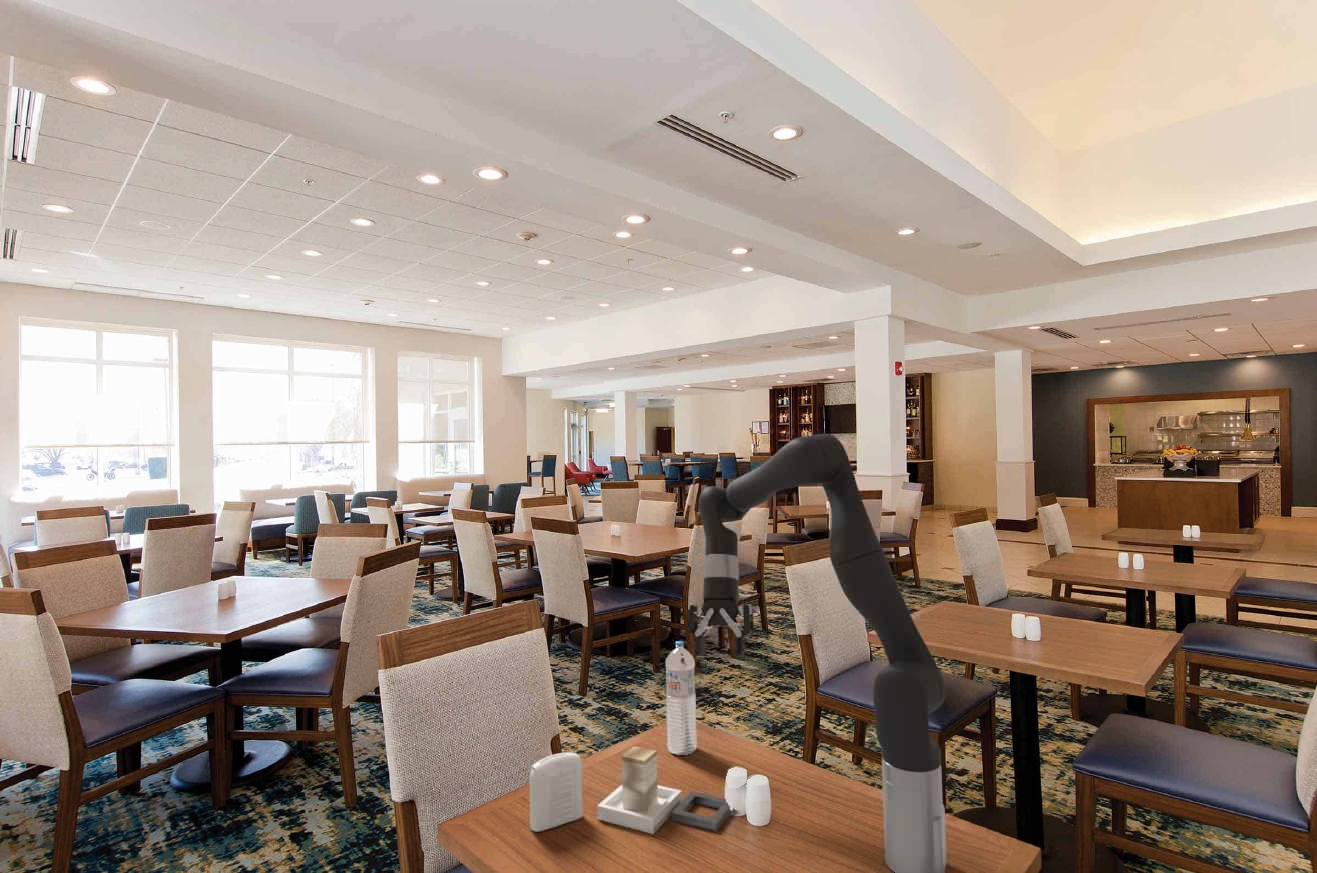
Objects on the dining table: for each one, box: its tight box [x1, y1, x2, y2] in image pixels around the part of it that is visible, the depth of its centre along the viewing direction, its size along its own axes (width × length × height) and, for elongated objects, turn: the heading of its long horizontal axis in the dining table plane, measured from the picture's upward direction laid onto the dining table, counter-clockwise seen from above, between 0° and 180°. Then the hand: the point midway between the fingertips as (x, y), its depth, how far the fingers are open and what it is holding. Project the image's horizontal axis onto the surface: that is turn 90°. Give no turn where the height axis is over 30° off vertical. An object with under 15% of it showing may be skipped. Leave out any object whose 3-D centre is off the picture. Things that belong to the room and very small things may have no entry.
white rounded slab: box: [529, 751, 584, 833], centre depth 128 cm, size 10×4×12 cm, turn 123°
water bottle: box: [664, 640, 698, 756], centre depth 158 cm, size 7×7×25 cm
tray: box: [596, 784, 683, 835], centre depth 131 cm, size 12×12×2 cm
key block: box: [621, 746, 658, 815], centre depth 131 cm, size 5×5×10 cm
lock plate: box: [671, 791, 732, 833], centre depth 129 cm, size 9×9×2 cm
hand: (719, 656), depth 141 cm, fingers open, 8 cm apart
